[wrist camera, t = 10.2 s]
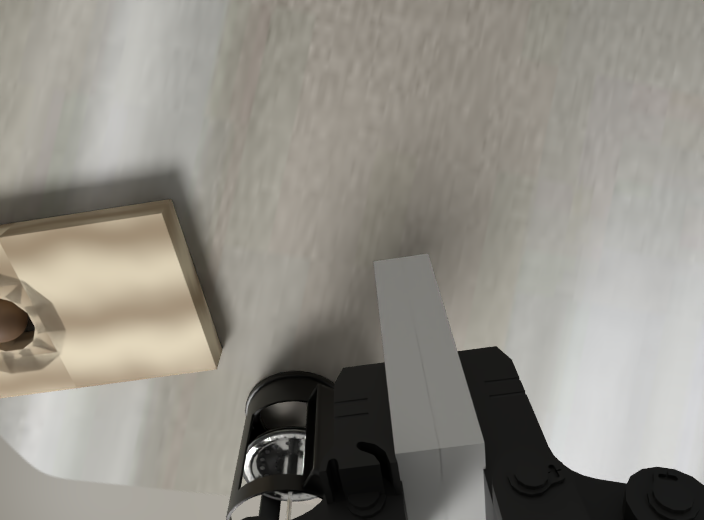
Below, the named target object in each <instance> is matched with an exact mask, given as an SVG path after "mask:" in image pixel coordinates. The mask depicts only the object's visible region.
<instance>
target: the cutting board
mask: <svg viewBox="0 0 704 520" xmlns="http://www.w3.org/2000/svg"><path fill="white" fill-rule="evenodd" d="M0 299H4V300H8V301H11V302H13V303H14V304H16V305H17V306H18V307H20V308H21V309H23V310H24V311H25V312H27V313H28V315H29V317H30V319H31V321H32V322H33V324H34V326H35V331H28V332H23V333H22V334H21V335H20V336H19V337H17V338H16V339H14V340H11V341H8V342H3V343H0V398H6V397H14V396H21V395H29V394H36V393H44V392H51V391H59V390H66V389H73V388H81V387H88V386H96V385H103V384H111V383H118V382H126V381H133V380H141V379H148V378H156V377H163V376H171V375H178V374H186V373H193V372H200V371H208V370H215V369H217V367H218V363H219V360H220V356H221V353H222V347H221V344H220V341H219V338H218V335H217V332H216V329H215V327H214V324H213V321H212V318H211V315H210V312H209V309H208V306H207V303H206V300H205V297H204V294H203V291H202V288H201V285H200V282H199V279H198V276H197V273H196V270H195V267H194V265H193V262H192V259H191V256H190V253H189V250H188V247H187V244H186V241H185V238H184V235H183V232H182V229H181V226H180V223H179V220H178V217H177V214H176V211H175V208H174V206H173V203H172V200H171V199H168V200H161V201H154V202H148V203H141V204H135V205H128V206H121V207H115V208H108V209H102V210H95V211H89V212H82V213H75V214H69V215H62V216H56V217H49V218H42V219H36V220H29V221H23V222H16V223H10V224H3V225H0Z"/></svg>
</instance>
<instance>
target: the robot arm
mask: <svg viewBox="0 0 704 520" xmlns="http://www.w3.org/2000/svg"><path fill="white" fill-rule="evenodd" d="M373 262H374V271H375V280H376V289H377V298H378V307H379V316H380V324H381V333H382V342H383V351H384V360H385V362H384V363H377V364H369V365H362V366H354V367H347V368H343V369H342V371H341V373H340V375H339V376H338V378H337V380H336V382H335V384H334V442H333V447H332V448H330V449H329V451H328V452H327V453H326V455H325V456H324V457H323V459H322V461H321V465H320V469H319V475H320V479H321V482H322V486H323V490H324V494H325V497H324V498H323V500H322V501H321V502H320V503H319V504H318V505H317V506H316V507H314V508H313V509H312V510H310V511H309V512H307V513H305V514H303V515H301V516H299V517H297V518H295V519H292V520H704V485H703V484H701V483H700V482H699V481H697V480H696V479H695V478H693V477H692V476H689V475H687V474H684V473H682V472H680V471H677V470H675V469H668V468H662V467H653V468H647V469H641V470H640V471H638V472H637V473H635V474H633V475H632V476H631V477H630V479H629V481H628V483H627V484H625V483H619V482H613V481H607V480H600V479H595V478H591V477H587V476H583V475H581V474H579V473H577V472H574V471H572V470H571V469H569V468H568V467H566V466H565V465H563V463H562V462H560V461H559V460H558V459H557V458H556V457H555V456H554V455H553V453H552V452H551V450H550V448H549V447H548V444H547V442H546V440H545V437H544V435H543V432H542V430H541V428H540V425H539V423H538V421H537V418H536V416H535V414H534V411H533V409H532V406H531V404H530V402H529V399H528V397H527V395H526V394H525V390H524V388H523V385H522V383H521V381H520V380H519V376H518V373H517V371H516V369H515V366H514V364H513V362H512V360H511V359H510V358H509V357H508V356H507V355H506V354H505V353H503V352H502V351H501V350H500V349H499V348H498V347H497V346H495V347H487V348H479V349H472V350H464V351H457V348H456V345H455V342H454V338H453V335H452V332H451V328H450V325H449V321H448V318H447V315H446V311H445V308H444V305H443V301H442V298H441V295H440V291H439V288H438V284H437V281H436V278H435V274H434V271H433V268H432V264H431V261H430V257H429V254H421V255H414V256H407V257H400V258H393V259H386V260H379V261H373ZM242 520H273V519H270V518H267V517H264V516H255V517H247V518H244V519H242Z"/></svg>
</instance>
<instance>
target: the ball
mask: <svg viewBox="0 0 704 520" xmlns="http://www.w3.org/2000/svg"><path fill="white" fill-rule="evenodd" d="M27 324H28V314H27V312H25V311H24V310H23V309H21V308H20V307H18V306H17V305H16V304H14V303H13V302H11V301H8V300H4V299H0V343H3V342H8V341H11V340H14V339H16V338H17V337H19V336H20V335H21V334H22V333H23V332H24V330H25V329H26V327H27Z"/></svg>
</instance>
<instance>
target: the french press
mask: <svg viewBox="0 0 704 520" xmlns="http://www.w3.org/2000/svg"><path fill="white" fill-rule="evenodd" d="M290 401H299V402H307V417H306V428H304V427H282V428H276V429H273V430H269V429H268V428H267V427H266V426H265V425H264V424H263V422H262V420H261V417H260V410H262V409H264V408H266V407H268V406H271V405H274V404H276V403H282V402H290ZM245 413H246V420H245V425H244V430H243V435H242V440H241V445H240V450H239V455H238V461H237V466H236V471H235V476H234V481H233V486H232V491H231V496H230V501H229V506H228V511H227V516H226V520H232V519H231V514H232V513H233V511H234V510H235V509H236V508H237V507H238V506H239V505H241V504H242V503H243V502H244V501H246V500H248V499H250V498H252V497H255V496H258V495H261V494H262V496H261V503H260V510H259V516H264V517H267V518H270V519H273V520H279V513H280V504H281V501H287V511H286V520H290V517H291V506H292V502H294V501H306V500H311V499H314V498H321V499H323V498H324V497H325V494H324V490H323V486H322V482H321V479H320V475H319V469H320V465H321V461H322V459H323V457H324V456H325V455H326V453H327V452H328V451H329V449H330V448H332V447H333V442H334V383H333V382H331V381H330V380H328V379H326V378H324V377H322V376H320V375H316V374H313V373H309V372H301V371H291V372H284V373H279V374H276V375H273V376H270V377H268V378H267V379H265V380H263V381H261V382H260V383H259V384H258V385H257V386H256V387H255V388H254V389H253V390H252V392H251V393H250V394H249V397H248V399H247V402H246V409H245ZM242 477H244V479H245V480H246V481H247V484H245V485H244V486H243V487H241V483H242Z"/></svg>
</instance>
